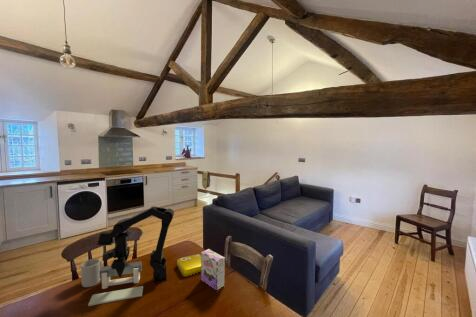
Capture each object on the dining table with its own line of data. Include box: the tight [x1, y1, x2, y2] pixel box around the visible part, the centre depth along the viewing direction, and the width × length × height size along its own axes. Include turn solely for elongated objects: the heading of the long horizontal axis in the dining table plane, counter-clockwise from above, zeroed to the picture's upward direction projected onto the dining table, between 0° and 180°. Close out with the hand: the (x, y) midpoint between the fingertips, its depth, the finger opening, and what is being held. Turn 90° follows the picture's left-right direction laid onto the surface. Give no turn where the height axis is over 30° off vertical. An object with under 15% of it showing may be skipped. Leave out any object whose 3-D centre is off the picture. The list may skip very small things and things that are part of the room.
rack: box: [101, 268, 141, 290], centre depth 121 cm, size 18×7×8 cm, turn 108°
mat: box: [87, 285, 144, 307], centre depth 110 cm, size 23×7×1 cm, turn 108°
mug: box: [80, 258, 103, 288], centre depth 122 cm, size 12×8×11 cm
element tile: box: [176, 253, 201, 278], centre depth 136 cm, size 15×15×5 cm
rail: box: [99, 260, 143, 279], centre depth 121 cm, size 20×4×4 cm, turn 108°
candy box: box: [200, 248, 226, 291], centre depth 121 cm, size 14×6×16 cm, turn 46°
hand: (121, 271), depth 121 cm, fingers open, 9 cm apart
